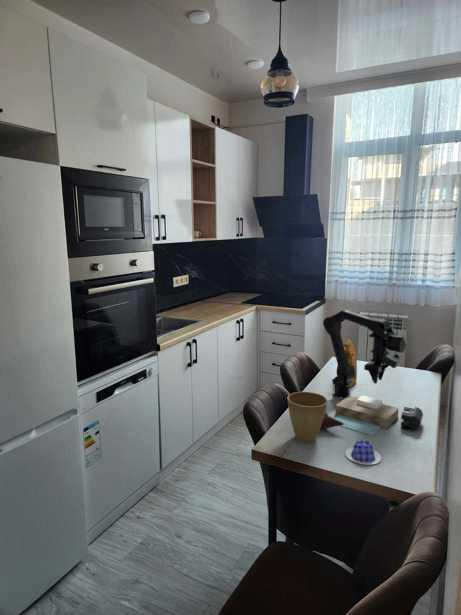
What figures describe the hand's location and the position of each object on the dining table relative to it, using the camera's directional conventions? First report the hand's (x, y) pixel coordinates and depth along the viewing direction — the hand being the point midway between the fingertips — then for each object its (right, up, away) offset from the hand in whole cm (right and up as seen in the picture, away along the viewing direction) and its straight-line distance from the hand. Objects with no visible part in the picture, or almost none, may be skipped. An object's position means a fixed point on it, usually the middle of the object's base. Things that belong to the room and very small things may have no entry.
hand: (377, 381), depth 181 cm
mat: (-15, -15, -16) cm, 26 cm away
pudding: (-20, -20, -39) cm, 48 cm away
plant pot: (-37, -17, -26) cm, 48 cm away
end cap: (+8, -15, -17) cm, 24 cm away
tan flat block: (-7, -13, -7) cm, 17 cm away
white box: (-5, -9, -5) cm, 12 cm away
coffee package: (-4, -7, +33) cm, 34 cm away
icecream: (-29, -16, -19) cm, 38 cm away
